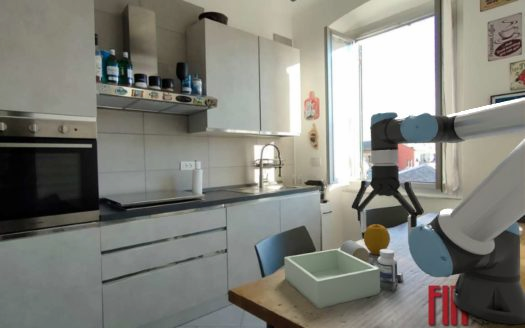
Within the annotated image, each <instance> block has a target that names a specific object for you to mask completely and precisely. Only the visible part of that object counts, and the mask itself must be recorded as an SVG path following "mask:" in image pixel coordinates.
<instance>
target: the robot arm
mask: <svg viewBox="0 0 525 328" xmlns="http://www.w3.org/2000/svg"><path fill="white" fill-rule="evenodd" d="M398 116H399V115H398V113H397V112H394V111H383V112H377V113H374V114H372V115H371V117H370V127H369V129H370V148H371V149H370V150H371V151H370V157H371V159H370V160H371V162H370V163H371V164H372V166H371V167H370V169H371V170H370V171H371V180H367V179H363V180H361V181H360V188H359V190H358V192H357V194H356V196H355V198H354V201H352V204H351V209H354V210H356V211H357V221H358V222H360V233H365V231H366V229H367V211H366V210H365V208H366V207H367V206H368V205H369V204H370V202H371V201H372V200H373V199H374V198H375V196H385V197H392V196H393V198H395V199H396V200H397V202H398V203H399V204H400V205H401V206H402V207H403V208H404V210H405V211H406V212H407V213H408V214H409V215H408V216H407V239H408V240H407V244H408V250H409V253H410V256H411V258H412V260H413V261H414V264H416V266H417V267H418V268H419V269H420V270H421V271H422V272H423V273H424V274H427V275H429V276H430V277H433V278H449V277H452V276H455V275H458V277H457V279H456V282H455V285H454V288H453V290H452V300H454V301H453V303H454V302H455V303H454V304H455V306H456V307H458V308H459V309H461V310H462V311H464V312H466V313H467V314H469V315H472V316H474V317H477V318H480V319H483V320H484V321H485V320H486V321H489V322H493V323H500V324H504V325H505V324H507V325H521V324H525V291H524V287H523V285H522V282H521V237H522V236H521V233H520V226H519V225H520V224H519V223H518V222H517V221H518V220H520V219H521V218H522V217H523V216H525V138H523V139H522V141H521V142H519V143H518V145H516V147H515V148H514V149H513V150H511V151H510V153H509V154H508V155H506V157H505V158H503V159H502V161H501V162H499V164H498V165H496V167H495V168H494V169H493V170H492V171H491V172H490V173H489V174H488V175H487V176H486V177H485V178H484V179H483V180H481V182H479V184H478V185H477V186H476V187H474V188H473V190H471V192H470V193H469V194H468V195H467V196H465V198H463V200H462V201H461V202H460V203H459V204H457V206H456V207H455V208H452V207H451V208H450V207H448V208H444V209H443V210H441V211H440V212H438V214H437V215H436V216H435V217H434V218H433V219H432V220H431V221H430V222H428V223H427V224H424V223H423V224H422V223H421V224H419V225H418V218H417V217H418V216H422V215H423V214H424V213H425V210H424V208H423V207H422V205H421V204H420V201H419V199H418V198H417V196H416V194H415V192H414V190H413V189H412V183H411V181H410V180H407V181H400V180H399V178H400V175H399V166H398V165H397V164H398V163H399V145H402V144H403V145H404V144H436V143H440V144H441V143H443V144H444V143H448V144H458V143H462V142H463V143H464V142H465V141H468V140H477V139H483V138H490V137H500V136H508V135H515V134H522V133H523V134H524V133H525V96H524V97H519V98H515V99H511V100H507V101H503V102H497V103H494V104H489V105H485V106H481V107H477V108H472V109H468V110H465V111H460V112H456V113H451V114H447V115H445V114H444V115H433V114H430V113H429V112H420V113H419V112H418V113H417V112H415V113H411V114H407V115H403V116H399V117H398ZM369 187H371V188H372V190H371V191H370V193H368V195H367V197H365V198H364V200H363V201H362V199H363V197H364V195H365V193H366V192H367V189H368V188H369ZM400 187H402V189H403V190H404V192H405V193H406V194H407V197H408V199H409V200H410V203H411V204H412V205H411V204H410V203H409V202H408V201H407V200H406V198H405V197H404V196H403V195H402V193H401V192H400V190H399V189H400ZM361 201H362V202H361Z"/></svg>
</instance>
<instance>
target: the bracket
mask: <svg viewBox="0 0 525 328" xmlns="http://www.w3.org/2000/svg"><path fill="white" fill-rule="evenodd" d="M403 279H404V272H401V271H397V281H398V282H403ZM380 290H383V291H386V292H391V293H394V292H395V291H396V285H395V282H392V281H388V280H386V278H385V277H381V278H380Z"/></svg>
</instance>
